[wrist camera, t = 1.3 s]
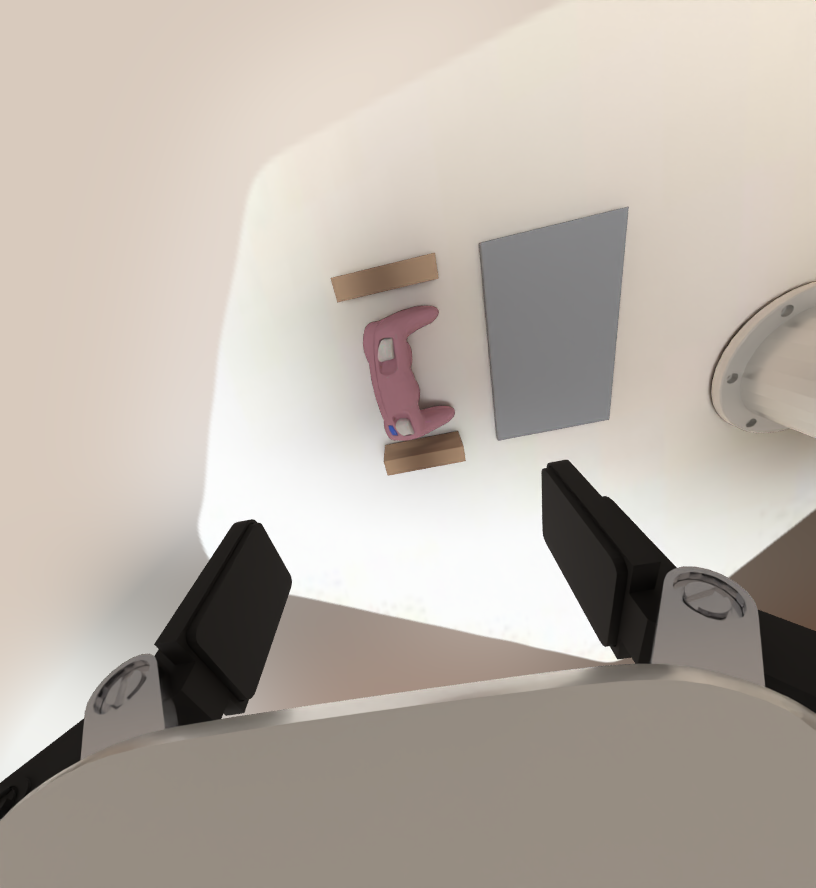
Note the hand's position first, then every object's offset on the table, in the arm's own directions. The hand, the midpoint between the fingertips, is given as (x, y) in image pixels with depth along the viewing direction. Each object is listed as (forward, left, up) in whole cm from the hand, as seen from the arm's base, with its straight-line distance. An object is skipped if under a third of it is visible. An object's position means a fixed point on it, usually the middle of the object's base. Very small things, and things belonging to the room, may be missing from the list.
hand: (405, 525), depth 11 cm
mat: (-12, 0, -19) cm, 22 cm away
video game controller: (-1, 0, -19) cm, 19 cm away
